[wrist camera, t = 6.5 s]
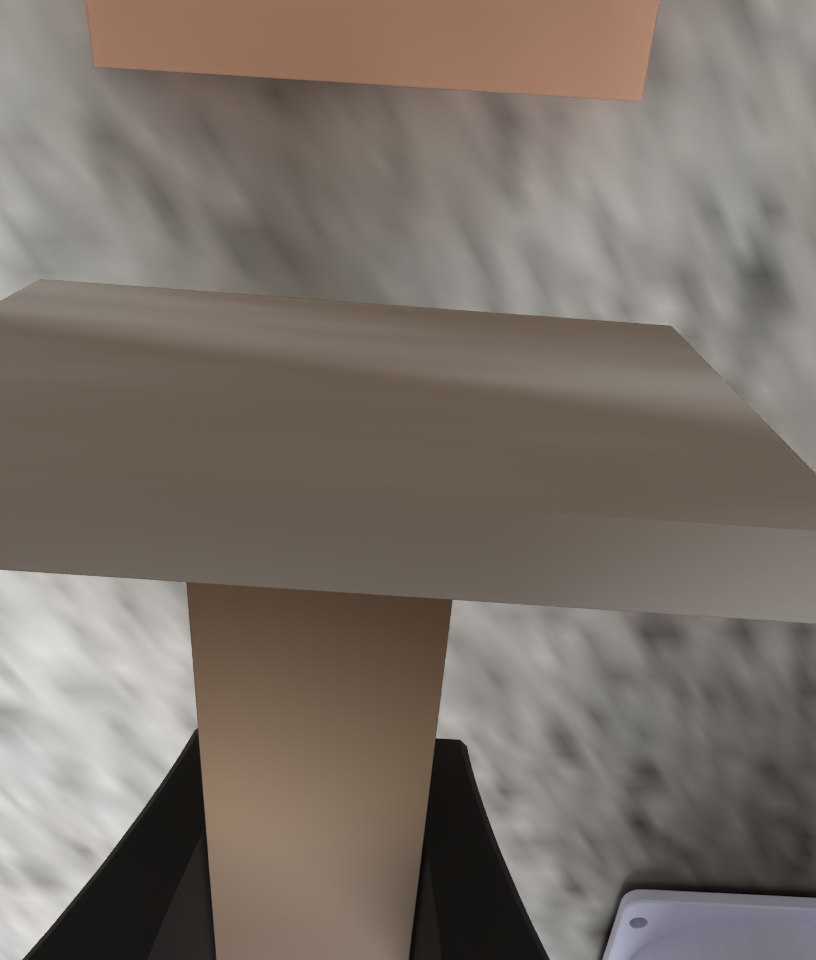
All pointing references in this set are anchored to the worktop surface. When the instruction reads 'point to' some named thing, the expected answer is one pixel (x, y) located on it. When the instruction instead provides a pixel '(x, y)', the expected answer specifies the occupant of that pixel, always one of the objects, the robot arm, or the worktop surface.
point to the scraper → (370, 539)
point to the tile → (389, 42)
